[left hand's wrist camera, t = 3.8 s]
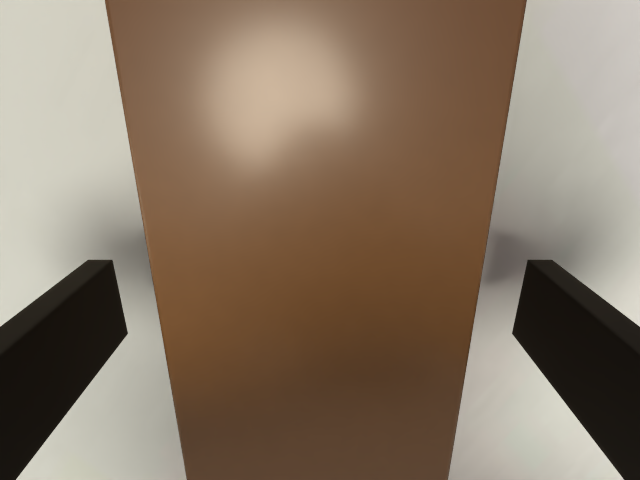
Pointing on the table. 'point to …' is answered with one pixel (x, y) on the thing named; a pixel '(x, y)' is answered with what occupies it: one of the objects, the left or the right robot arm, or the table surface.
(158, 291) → the bar
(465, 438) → the table surface
